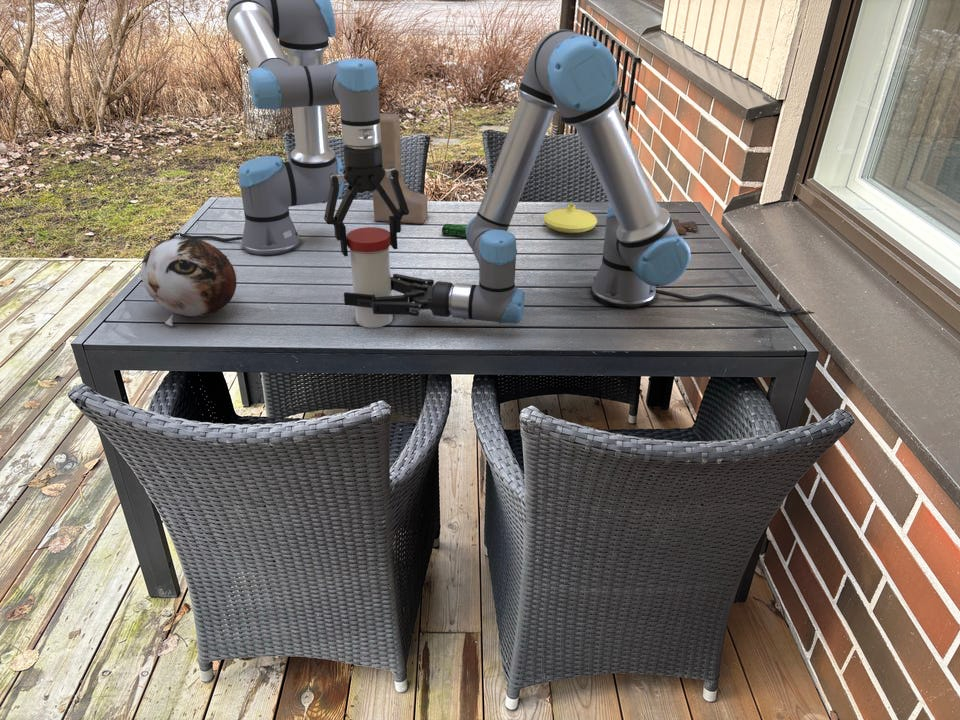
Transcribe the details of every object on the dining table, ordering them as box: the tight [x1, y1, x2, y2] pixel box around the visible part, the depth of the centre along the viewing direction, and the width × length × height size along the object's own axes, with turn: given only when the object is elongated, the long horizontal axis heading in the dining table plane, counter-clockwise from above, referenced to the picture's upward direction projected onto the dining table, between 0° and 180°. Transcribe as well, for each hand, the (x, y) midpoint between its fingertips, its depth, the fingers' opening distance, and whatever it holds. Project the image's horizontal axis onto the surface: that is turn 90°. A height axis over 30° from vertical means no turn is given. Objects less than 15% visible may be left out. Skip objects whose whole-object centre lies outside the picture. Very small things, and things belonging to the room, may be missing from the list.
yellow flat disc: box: [543, 203, 598, 234], centre depth 209 cm, size 16×16×7 cm
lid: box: [346, 226, 391, 252], centre depth 151 cm, size 9×9×2 cm
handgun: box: [441, 223, 467, 238], centre depth 207 cm, size 16×3×15 cm
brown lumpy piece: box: [672, 218, 698, 235], centre depth 212 cm, size 26×2×10 cm
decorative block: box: [372, 112, 429, 225], centre depth 209 cm, size 8×15×30 cm, turn 82°
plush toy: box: [140, 236, 238, 327], centre depth 157 cm, size 22×18×20 cm
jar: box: [349, 246, 394, 329], centre depth 155 cm, size 8×8×19 cm
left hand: (369, 250), depth 152 cm, fingers open, 10 cm apart
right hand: (352, 289), depth 158 cm, fingers closed on jar, 8 cm apart
